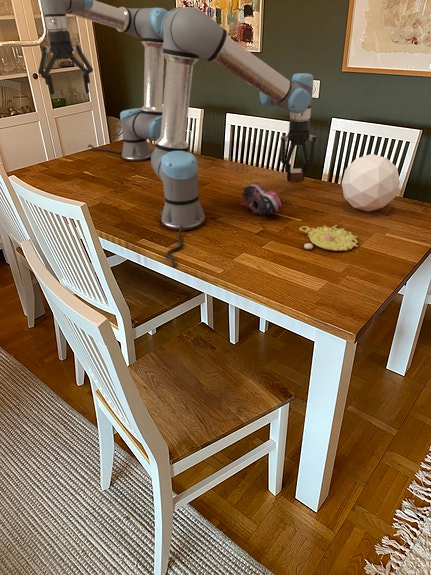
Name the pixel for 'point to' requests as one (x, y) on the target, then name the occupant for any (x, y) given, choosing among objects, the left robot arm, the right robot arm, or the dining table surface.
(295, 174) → the block
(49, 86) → the left robot arm
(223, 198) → the dining table surface
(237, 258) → the dining table surface
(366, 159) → the sphere
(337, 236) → the decorative object
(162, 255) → the dining table surface
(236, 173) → the dining table surface
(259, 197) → the athletic shoe
